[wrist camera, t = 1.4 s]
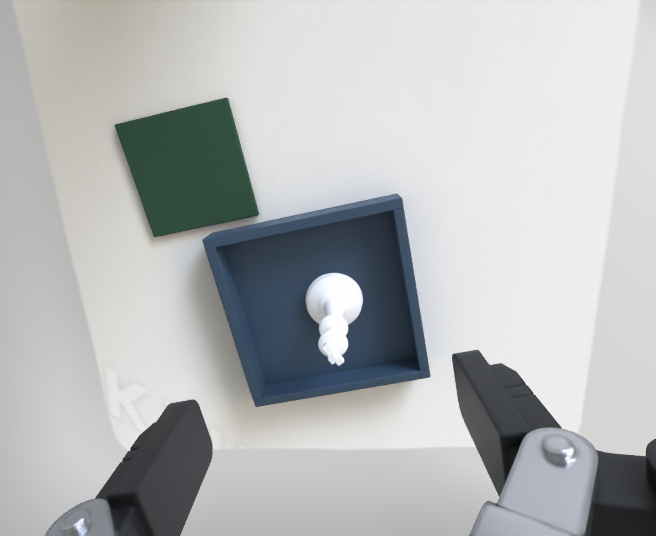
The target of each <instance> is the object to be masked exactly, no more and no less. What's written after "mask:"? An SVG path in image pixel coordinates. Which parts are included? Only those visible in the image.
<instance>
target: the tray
mask: <svg viewBox="0 0 656 536" xmlns="http://www.w3.org/2000/svg"><path fill="white" fill-rule="evenodd" d="M403 208H404V207H403V201H402V198H401V197H400V196H399V195H398V194H393V195H389V196H384V197H379V198H375V199H370V200H365V201H360V202H356V203H351V204H346V205H342V206H337V207H332V208H327V209H323V210H318V211H313V212H309V213H304V214H299V215H294V216H290V217H285V218H280V219H276V220H271V221H266V222H261V223H257V224H252V225H247V226H243V227H238V228H233V229H228V230H224V231H219V232H214V233H211V234H210V235H209V236H207V237H206V238H204V239H203V240H202V241H203V244H204V247H205V249H206V253H207V256H208V259H209V263H210V266H211V269H212V272H213V275H214V278H215V281H216V285H217V288H218V291H219V294H220V297H221V300H222V304H223V307H224V310H225V313H226V316H227V319H228V322H229V326H230V329H231V332H232V335H233V338H234V341H235V345H236V348H237V351H238V354H239V357H240V360H241V363H242V367H243V370H244V373H245V376H246V379H247V382H248V386H249V389H250V392H251V395H252V398H253V401H254V404H255V407H259V406H264V405H270V404H276V403H282V402H288V401H294V400H300V399H306V398H311V397H317V396H323V395H329V394H335V393H341V392H347V391H352V390H358V389H364V388H370V387H376V386H382V385H388V384H394V383H399V382H405V381H411V380H417V379H423V378H429V377H430V370H429V364H428V358H427V352H426V345H425V339H424V333H423V327H422V320H421V314H420V308H419V302H418V295H417V289H416V283H415V276H414V270H413V264H412V258H411V251H410V245H409V239H408V233H407V226H406V220H405V214H404V209H403ZM328 273H340V274H344V275H347V276H349V277H350V278H352V279H353V280H354V281H355V282H356V283H357V284H358V285H359V287H360V289H361V291H362V295H363V304H362V308H361V311H360V313H359V315H358V317H357V318H356V319H355V320H354V321H353V322H352V323H350V324H349V325H348V332H347V335H346V338H347V340H348V348H347V350H346V352H345V353H344V354H343V355H341V356H342V357H343V358H344V363H342V364H341V365H339V366H338V365H337V363H336V362H335V363H334V364H333V365H332V364H331V362H330V361H329V360H328V357H327V356H325V355H324V354H323V353H322V352H321V351H320V349H319V346H318V341H319V338H320V336H321V334H320V332H319V324H318V323H317V322H316V321H315V320H314V319H313V318H312V317H311V316H310V314H309V312H308V310H307V306H306V293H307V290H308V288H309V286H310V285H311V283H312V282H313V281H314V280H315V279H317V278H318V277H320V276H322V275H324V274H328Z"/></svg>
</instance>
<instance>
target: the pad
mask: <svg viewBox="0 0 656 536" xmlns="http://www.w3.org/2000/svg"><path fill="white" fill-rule="evenodd" d="M115 127H116V130H117V133H118V136H119V139H120V142H121V144H122V147H123V150H124V153H125V156H126V159H127V161H128V164H129V167H130V170H131V173H132V176H133V178H134V181H135V184H136V187H137V190H138V193H139V195H140V198H141V201H142V204H143V207H144V210H145V212H146V215H147V218H148V221H149V224H150V227H151V229H152V232H153V235H154V237H157V236H162V235H167V234H172V233H176V232H181V231H186V230H190V229H195V228H200V227H204V226H209V225H214V224H218V223H223V222H228V221H232V220H237V219H242V218H246V217H251V216H256V215H258V214H259V212H258V208H257V205H256V201H255V197H254V193H253V190H252V186H251V182H250V179H249V175H248V171H247V167H246V164H245V160H244V156H243V152H242V149H241V145H240V141H239V138H238V134H237V130H236V126H235V123H234V119H233V115H232V111H231V108H230V104H229V100H228V98H223V99H219V100H215V101H211V102H207V103H203V104H198V105H194V106H190V107H186V108H182V109H178V110H174V111H170V112H165V113H161V114H157V115H153V116H149V117H145V118H141V119H137V120H132V121H128V122H124V123H120V124H116V125H115Z"/></svg>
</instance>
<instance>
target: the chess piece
mask: <svg viewBox="0 0 656 536" xmlns="http://www.w3.org/2000/svg"><path fill="white" fill-rule="evenodd" d="M362 304H363V295H362V291H361V289H360V287H359V285H358V284H357V283H356V282H355V281H354V280H353V279H352V278H350V277H349V276H347V275H344V274H340V273H328V274H324V275H322V276H320V277H318V278H317V279H315V280H314V281H313V282H312V283H311V285H310V286H309V288H308V290H307V293H306V306H307V310H308V312H309V314H310V316H311V317H312V318H313V319H314V320H315V321H316V322H317V323H318V324H319V332H320V334H321V336H320V338H319V341H318V346H319V349H320V351H321V352H322V353H323V354H324V355H325V356H327V357H328V360H329V361H330V362H331V364H332V365H333V364H334V363H335V362H336V363H337V365H338V366H339V365H341V364H342V363H344V358H343V357H342V356H341V355H343V354H344V353H345V352H346V350H347V348H348V340H347V338H346V335H347V332H348V325H349V324H350V323H352V322H353V321H354V320H355V319H356V318H357V317H358V315H359V313H360V311H361V308H362Z"/></svg>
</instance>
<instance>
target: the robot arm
mask: <svg viewBox="0 0 656 536" xmlns="http://www.w3.org/2000/svg"><path fill="white" fill-rule="evenodd" d="M452 362H453V369H454V375H455V382H456V389H457V396H458V402H459V406H460V410H461V414H462V417H463V419H464V422H465V424H466V426H467V428H468V430H469V433H470V435H471V437H472V439H473V441H474V443H475V446H476V448H477V450H478V452H479V454H480V456H481V458H482V461H483V463H484V465H485V467H486V469H487V471H488V474H489V476H490V478H491V480H492V482H493V484H494V486H495V489H496V491H497V493H498V495H499V500H498V502H497V503H496V504H495V503H493V502H490V501H487V502H486V503H484V505H483V506H482V508H481V510H480V512H479V514H478V517H477V519H476V521H475V524H474V526H473V528H472V530H471V533H470V535H469V536H656V439H654V440H653V441H651V442H650V443H649V444H648V445H647V448H646V456H635V455H623V454H613V453H605V452H601V451H597V450H596V449H595V448H594V446H593V445H592V444H591V443H590V442H589V441H588V440H586V439H585V438H583V437H582V436H580V435H578V434H576V433H574V432H572V431H568V430H565V429H562V428H561V427H560V425H559V424H558V423H557V422H556V420H555V419H554V418H553V417H552V415H551V414H550V413H549V412H548V410H547V409H546V408H545V407H544V405H543V404H542V403H541V402H540V400H539V399H538V398H537V397H536V396H535V395H534V394H533V392H532V391H531V389H530V388H529V387H528V386H527V385H526V384H525V382H524V381H523V379H522V378H521V377H520V376H519V374H518V373H517V372H516V371H514V370H512V369H511V368H509V367H507V366H505V365H503V364H501V363H500V364H494V365H489V364H488V363H487V361H486V360H485V358H484V357H483V356H482V354H481V353H480V351H479V350H473V351H468V352H462V353H456V354H453V355H452ZM130 449H131V450H130V451H128V453H127V454H126V455H125V457H124V458H123V462H121V463H120V464H119V465H118V467H117V468H116V470H115V471H114V472H113V474H112V475H111V477H110V478H109V480H108V481H107V482H106V484H105V485H104V487H103V488H102V489H101V491H100V492H99V494H98V495H97V496H96V498H95V499H91V500H88V501H85V502H83V503H80V504H79V505H77V506H75V507H73V508H71V509H70V510H68V511H67V512H66V513H64V514H63V515H62V516H61V517H59V518H58V519H57V520H56V521H55V522H54V523H53V524H52V526H51V527H50V528H49V529H48V531H47V532H46V534H45V536H180V534H181V532H182V529H183V527H184V525H185V522H186V520H187V518H188V515H189V513H190V510H191V508H192V505H193V503H194V501H195V498H196V496H197V493H198V491H199V489H200V486H201V484H202V481H203V479H204V477H205V474H206V472H207V470H208V467H209V465H210V462H211V459H212V441H211V438H210V435H209V432H208V430H207V427H206V424H205V421H204V418H203V415H202V413H201V410H200V407H199V404H198V403H197V401H195V400H187V401H182V402H176V403H171V404H169V405H168V406H167V407H166V409H165V410H164V412H163V413H162V415H161V416H160V418H159V419H158V420H157V422H155V423H153V424H152V425H151V426H150V427H149V428H147V429H146V430H145V431H144V432H143V433H142V434H141V435H140V436H139V437H138V438H137V440H136V441H135V443H134V444H133V446H132V447H131V448H130Z"/></svg>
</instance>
